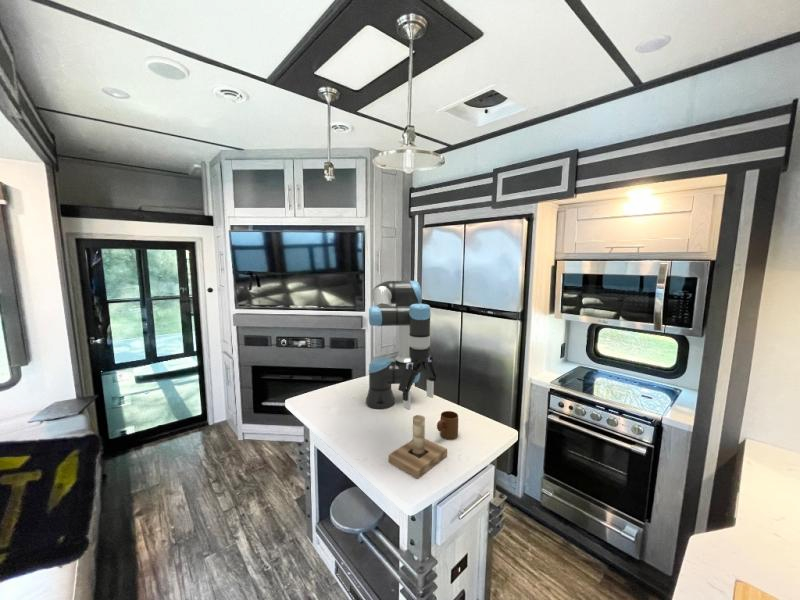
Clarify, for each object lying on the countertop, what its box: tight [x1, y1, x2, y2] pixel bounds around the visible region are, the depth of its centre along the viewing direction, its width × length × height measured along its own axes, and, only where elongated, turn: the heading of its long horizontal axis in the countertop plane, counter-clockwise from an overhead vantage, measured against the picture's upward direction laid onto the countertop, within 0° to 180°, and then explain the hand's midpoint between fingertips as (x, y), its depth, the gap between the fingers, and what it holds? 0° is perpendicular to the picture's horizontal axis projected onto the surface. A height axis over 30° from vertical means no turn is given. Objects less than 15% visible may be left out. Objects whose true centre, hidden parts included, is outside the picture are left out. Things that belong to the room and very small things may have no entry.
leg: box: [412, 414, 426, 458], centre depth 124 cm, size 5×5×16 cm
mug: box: [436, 410, 459, 441], centre depth 139 cm, size 12×8×9 cm, turn 136°
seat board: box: [388, 438, 448, 480], centre depth 124 cm, size 18×14×3 cm
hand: (418, 402), depth 122 cm, fingers open, 13 cm apart
